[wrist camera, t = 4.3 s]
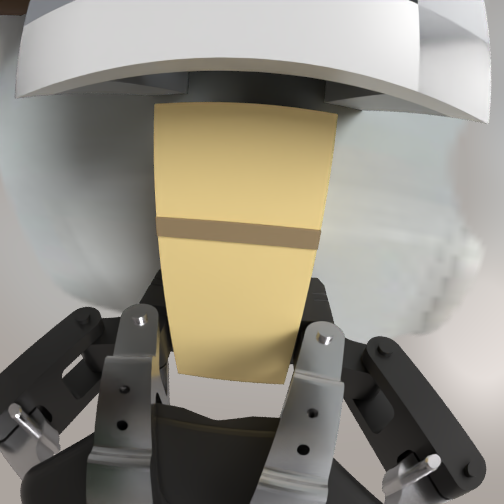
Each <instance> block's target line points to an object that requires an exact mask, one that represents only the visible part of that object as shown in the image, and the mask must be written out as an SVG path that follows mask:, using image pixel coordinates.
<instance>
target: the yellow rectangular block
mask: <svg viewBox="0 0 504 504" xmlns="http://www.w3.org/2000/svg"><path fill="white" fill-rule="evenodd" d="M337 118H338V114H334V113H328V112H322V111H316V110H309V109H302V108H294V107H286V106H276V105H265V104H251V103H231V102H180V103H160V104H155V106H154V180H155V202H156V218H155V219H156V232H157V236H158V243H159V253H160V263H161V271H162V280H163V287H164V295H165V302H166V309H167V315H168V321H169V327H170V333H171V339H172V344H173V350H174V355H175V360H176V365H177V369H178V373H179V374H185V375H192V376H198V377H206V378H213V379H221V380H230V381H241V382H253V383H266V384H284V382H285V378H286V375H287V372H288V368H289V365H290V361H291V357H292V354H293V350H294V346H295V342H296V338H297V335H298V331H299V327H300V323H301V319H302V315H303V310H304V306H305V302H306V298H307V293H308V289H309V284H310V280H311V275H312V271H313V266H314V261H315V256H316V251H317V250H318V245H319V240H320V235H321V225H322V220H323V214H324V209H325V203H326V197H327V191H328V185H329V178H330V172H331V165H332V158H333V151H334V143H335V135H336V127H337Z"/></svg>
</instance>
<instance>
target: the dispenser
mask: <svg viewBox="0 0 504 504" xmlns="http://www.w3.org/2000/svg"><path fill="white" fill-rule="evenodd" d="M189 71H252V72H267V73H278V74H288V75H296V76H303V77H310V78H317V79H323V80H326V89H325V100H324V103H329V104H335V105H340V106H345V107H350V108H355V109H359V110H365V111H393V112H408V113H419V114H429V115H437V116H445V117H452V118H458V119H464V120H470V121H475V122H480V123H485V124H489V113H490V98H491V55H490V41H489V31H488V23H487V16H486V10H485V4H484V0H30V3H29V7H28V10H27V14H26V18H25V23H24V27H23V32H22V37H21V43H20V49H19V55H18V63H17V72H16V84H15V99H16V98H24V97H33V96H43V95H57V94H81V93H106V94H132V95H146V96H153V95H166V94H186V93H187V89H188V74H189Z"/></svg>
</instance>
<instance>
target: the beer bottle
mask: <svg viewBox="0 0 504 504" xmlns="http://www.w3.org/2000/svg"><path fill="white" fill-rule="evenodd" d="M29 3H30V0H0V15H19V16H21V15H24V14H27V10H28V7H29Z"/></svg>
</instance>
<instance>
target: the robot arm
mask: <svg viewBox="0 0 504 504" xmlns="http://www.w3.org/2000/svg"><path fill="white" fill-rule="evenodd" d="M170 351H172V352H174V350H173V344H172V339H171V333H170V327H169V321H168V315H167V309H166V302H165V295H164V287H163V280H162V271H161V269H160V270H159V271H158V272H157V274H156V276H155V278H154V279H153V281H152V282H151V285H150V286H149V288H148V289H147V291H146V293H145V294H144V296H143V298H142V300H141V301H140V303H139V304H135V305H132V306H130V307H128V308H127V309H125V310H124V311H123V313H122V315H121V317H116V318H101V315H100V312H99V311H98V310H97V309H95V308H92V307H83V308H79V309H77V310H75V311H74V312H72V313H71V314H70V315H69V316H67V317H66V318H65V319H64V320H62V321H61V322H60V323H59V324H57V325H56V326H55V327H54V328H52V329H51V330H50V331H49V332H48V333H47V334H45V335H44V336H43V337H42V338H40V339H39V340H38V341H37V342H36V343H34V344H33V345H32V346H31V347H30V348H29V349H27V350H26V351H25V352H24V353H23V354H22V355H20V356H19V357H18V358H17V359H16V360H15V361H14V362H13V363H12V364H10V365H9V366H8V367H7V368H6V369H5V370H4V371H3V372H2V373H0V451H1V453H2V454H3V456H4V457H5V459H6V460H7V461H8V463H9V464H10V466H11V467H12V468H13V469H14V471H15V472H16V473H17V475H18V476H19V477H20V478H21V480H22V484H21V490H20V491H21V501H22V504H383V503H382V502H381V501H379V500H378V499H377V498H376V497H375V496H374V495H372V494H371V493H370V492H369V491H368V490H367V489H366V488H365V487H364V486H363V485H361V484H360V483H359V482H358V481H357V480H356V479H355V478H354V477H353V476H352V475H351V474H350V473H349V472H347V471H346V470H345V468H343V467H342V466H341V465H340V464H339V463H338V462H337V461H336V460H335V459H334V458H333V455H334V450H335V445H336V440H337V434H338V428H339V422H340V416H341V409H342V402H343V398H344V400H345V402H346V403H347V405H348V407H349V409H350V410H351V412H352V413H353V416H354V417H355V419H356V421H357V422H358V424H359V426H360V428H361V429H362V431H363V433H364V434H365V436H366V438H367V440H368V441H369V443H370V445H371V446H372V448H373V450H374V451H375V453H376V455H377V457H378V459H379V460H380V462H381V464H382V465H383V467H384V469H385V471H386V474H385V475H384V478H383V481H382V485H383V487H382V491H383V492H384V493H385V503H384V504H446V503H447V502H449V501H451V500H453V499H455V498H457V497H459V496H462V495H464V494H466V493H468V492H470V491H471V490H473V489H475V488H477V487H478V486H479V485H480V484H481V483H482V481H483V480H484V477H485V474H486V464H485V460H484V458H483V457H482V456H481V454H480V452H479V451H478V450H477V448H476V446H475V445H474V444H473V442H472V441H471V439H470V438H469V436H468V435H467V433H466V432H465V431H464V429H463V428H462V426H461V425H460V424H459V422H458V421H457V419H456V418H455V417H454V415H453V414H452V413H451V411H450V410H449V408H448V407H447V406H446V405H445V403H444V402H443V400H442V399H441V398H440V397H439V395H438V394H437V393H436V391H435V390H434V389H433V387H432V386H431V385H430V384H429V382H428V381H427V380H426V378H425V377H424V376H423V375H422V373H421V372H420V371H419V370H418V368H417V367H416V366H415V365H414V363H413V362H412V361H411V360H410V358H409V357H408V356H407V355H406V353H405V352H404V351H403V350H402V349H401V347H400V346H399V345H398V344H397V343H396V342H395V341H393V340H392V339H390V338H387V337H382V336H378V337H374V338H372V339H370V340H369V341H368V343H367V345H366V344H362V343H358V342H354V341H351V340H349V339H347V338H345V336H344V333H343V331H342V330H341V329H340V328H339V327H338V326H336V325H335V324H334V321H333V317H332V313H331V309H330V305H329V302H328V298H327V295H326V291H325V287H324V285H323V284H322V283H321V281H320V280H319V279H318V278H311V280H310V284H309V289H308V293H307V298H306V302H305V306H304V310H303V315H302V319H301V323H300V327H299V331H298V335H297V338H296V342H295V346H294V350H293V354H292V357H291V361H290V364H293V366H294V372H293V375H292V379H291V382H290V386H289V389H288V392H287V396H286V399H285V402H284V405H283V408H282V411H281V414H280V417H279V418H271V417H245V418H237V419H228V420H213V419H210V418H207V417H205V416H202V415H199V414H197V413H194V412H192V411H189V410H187V409H185V408H181V407H176V406H170V398H169V363H168V357H169V354H170ZM80 354H81V355H82V357H83V359H82V360H81V361H80V362H79V363H78V364H77V365H76V366H75V367H74V368H73V369H72V370H71V371H70V372H69V373H68V374H66V375H65V376H64V377H63V378H62V373H63V371H64V369H65V368H66V367H68V366H69V365H70V364H71V363H72V362H73V361H74V360H75V359H76V358H77V357H78V356H79V355H80ZM98 393H99V397H98V404H97V412H96V421H95V432H94V433H92V434H91V435H89V436H87V437H85V438H84V439H82V440H80V441H79V442H77V443H75V444H73V445H72V446H70V447H68V448H66V449H65V450H63V451H61V452H59V451H60V444H59V435H60V434H61V433H62V431H63V430H64V429H65V428H66V427H67V426H68V425H69V424H70V422H72V421H73V419H74V418H75V417H76V416H77V415H78V414H79V413H80V412H81V411H82V410H83V409H84V408H85V407H86V405H87V404H88V403H89V402H90V401H91V400H92V399H93V398H94V397H95V396H96V395H97V394H98ZM58 452H59V453H58ZM53 454H56V455H54V456H53Z"/></svg>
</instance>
